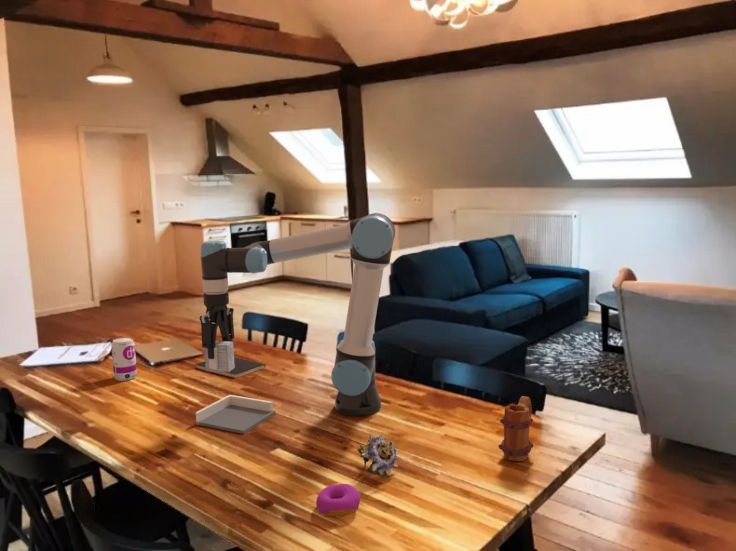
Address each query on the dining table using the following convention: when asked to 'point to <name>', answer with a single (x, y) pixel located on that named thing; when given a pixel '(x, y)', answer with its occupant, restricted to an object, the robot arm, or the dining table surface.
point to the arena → (235, 414)
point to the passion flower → (379, 454)
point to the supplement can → (124, 359)
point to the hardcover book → (238, 367)
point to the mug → (517, 430)
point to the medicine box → (222, 356)
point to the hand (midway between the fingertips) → (220, 365)
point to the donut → (338, 500)
